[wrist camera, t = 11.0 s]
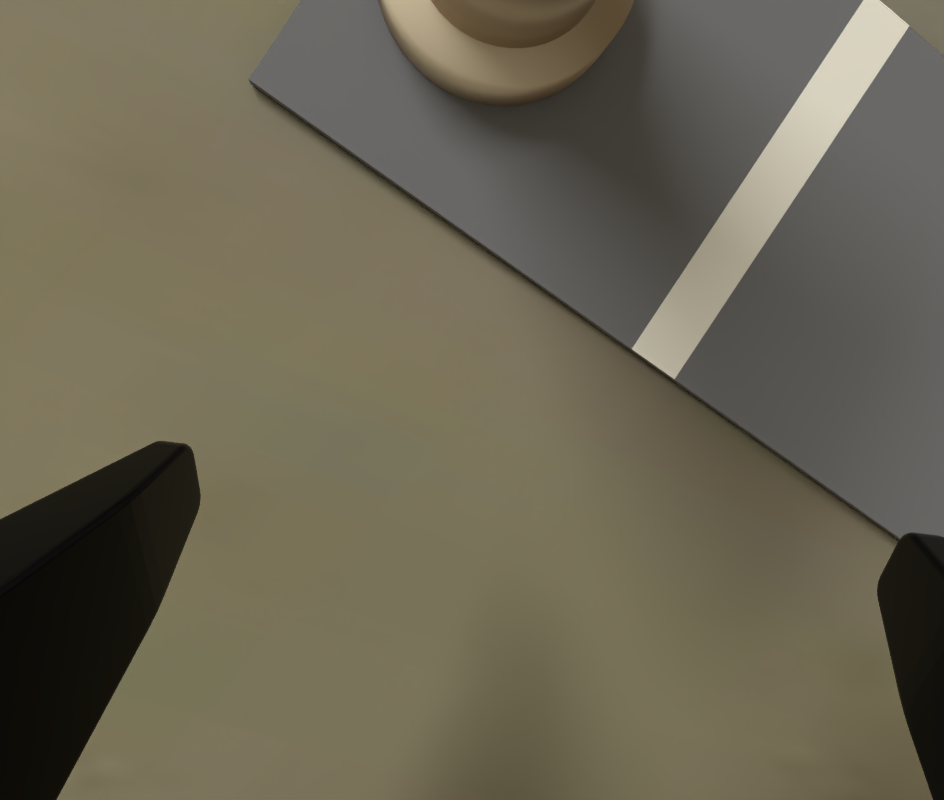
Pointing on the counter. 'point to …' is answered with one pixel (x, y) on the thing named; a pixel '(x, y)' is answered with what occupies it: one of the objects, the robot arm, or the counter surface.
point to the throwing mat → (701, 210)
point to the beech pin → (503, 43)
